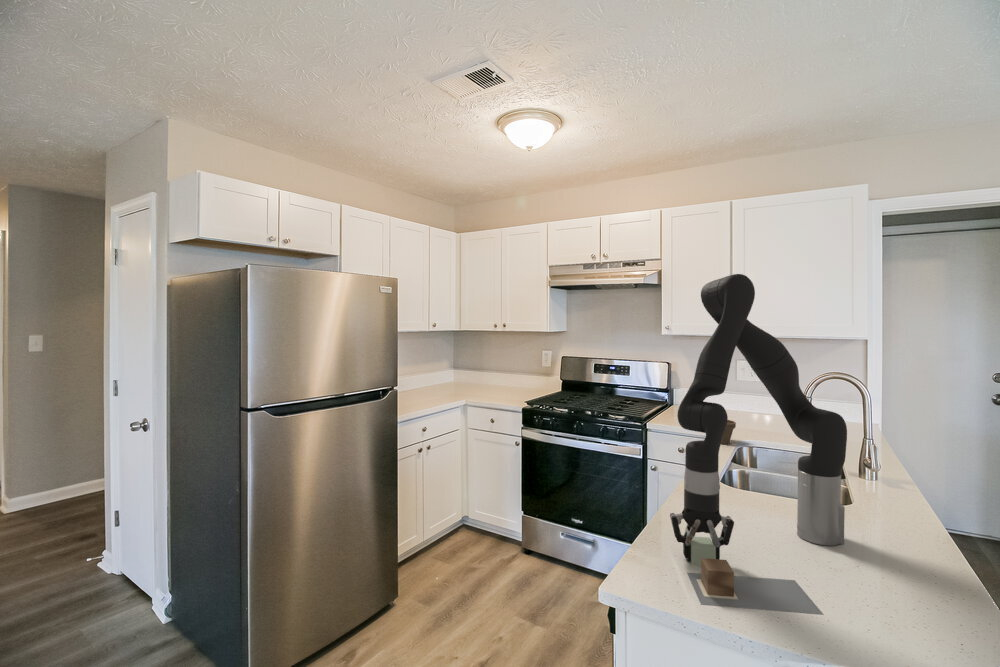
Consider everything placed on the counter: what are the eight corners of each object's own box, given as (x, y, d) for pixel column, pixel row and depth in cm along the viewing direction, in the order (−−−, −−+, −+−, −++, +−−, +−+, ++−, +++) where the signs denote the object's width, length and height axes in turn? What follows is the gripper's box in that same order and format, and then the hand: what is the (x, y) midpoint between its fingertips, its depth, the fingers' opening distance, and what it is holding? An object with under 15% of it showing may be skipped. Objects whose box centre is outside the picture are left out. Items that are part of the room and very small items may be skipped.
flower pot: (734, 440, 221) (734, 419, 220) (736, 447, 210) (737, 424, 210) (707, 438, 225) (707, 417, 225) (708, 444, 214) (708, 422, 214)
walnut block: (726, 583, 101) (726, 559, 100) (733, 596, 96) (734, 572, 96) (701, 581, 101) (701, 558, 101) (707, 594, 96) (707, 570, 96)
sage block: (709, 558, 112) (709, 537, 112) (715, 569, 108) (715, 547, 107) (687, 556, 113) (687, 536, 113) (692, 567, 108) (692, 545, 108)
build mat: (794, 582, 102) (794, 579, 102) (823, 617, 90) (823, 613, 90) (686, 575, 105) (686, 571, 105) (701, 607, 93) (701, 603, 93)
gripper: (729, 483, 113) (728, 554, 113) (666, 480, 115) (665, 550, 115) (740, 495, 105) (739, 571, 106) (672, 491, 107) (672, 566, 108)
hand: (701, 560), depth 110 cm, fingers closed on sage block, 5 cm apart
